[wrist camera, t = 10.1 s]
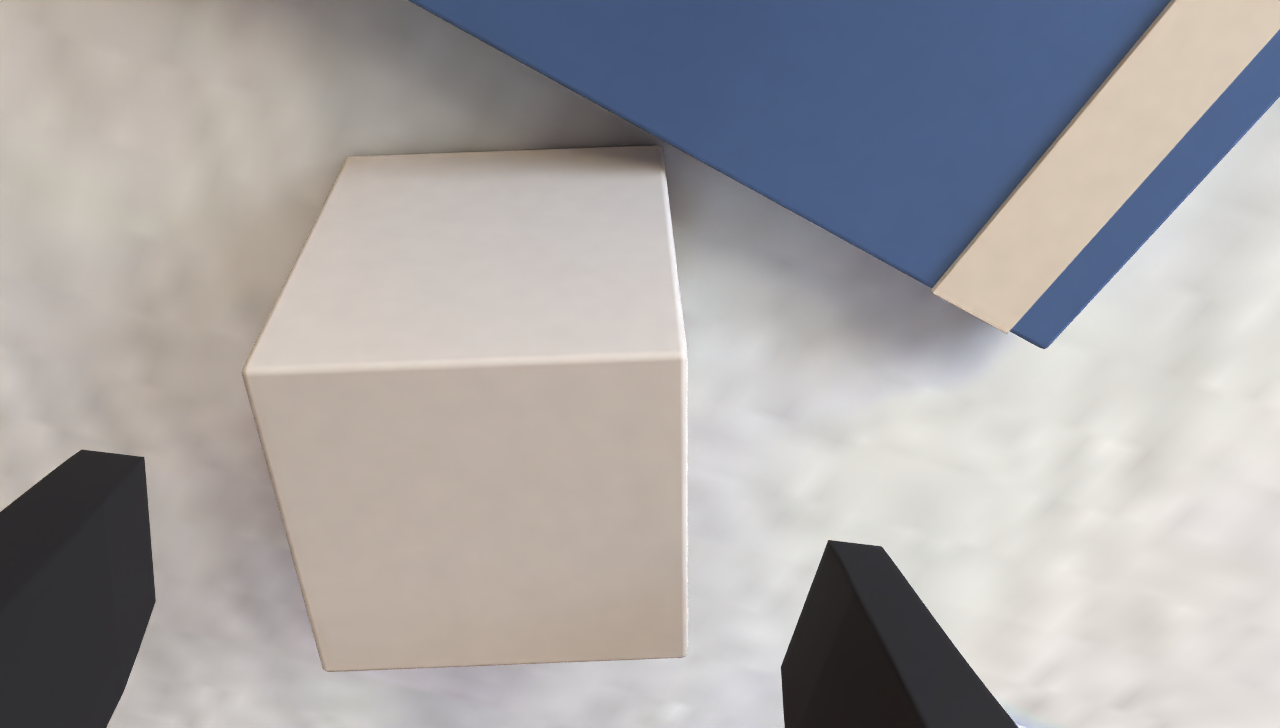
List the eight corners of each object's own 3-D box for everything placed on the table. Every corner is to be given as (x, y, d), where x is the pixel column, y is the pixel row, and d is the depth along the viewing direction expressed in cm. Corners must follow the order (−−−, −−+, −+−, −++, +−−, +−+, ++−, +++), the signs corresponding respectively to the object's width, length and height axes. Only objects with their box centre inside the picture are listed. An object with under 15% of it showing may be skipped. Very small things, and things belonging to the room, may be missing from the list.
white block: (666, 400, 18) (688, 660, 13) (393, 411, 18) (321, 674, 13) (663, 142, 16) (687, 354, 11) (345, 154, 15) (236, 370, 11)
